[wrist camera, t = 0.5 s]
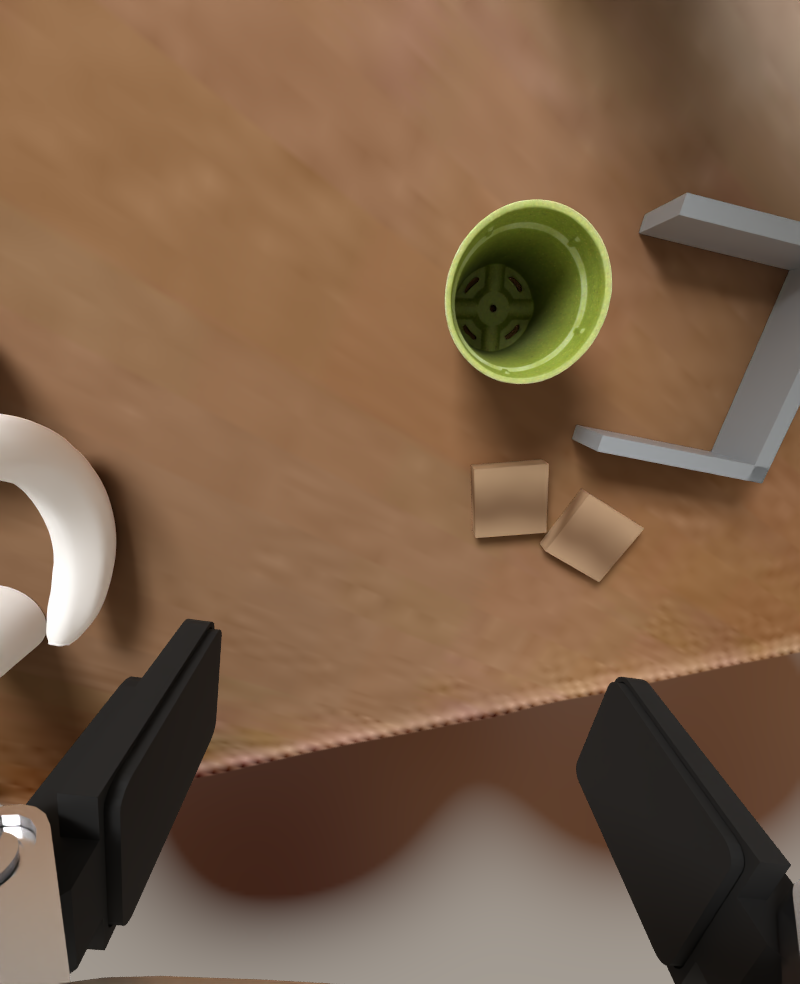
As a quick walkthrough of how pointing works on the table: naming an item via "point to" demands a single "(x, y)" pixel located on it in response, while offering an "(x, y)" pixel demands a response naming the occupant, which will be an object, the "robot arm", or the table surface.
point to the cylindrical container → (18, 627)
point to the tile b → (590, 535)
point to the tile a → (509, 498)
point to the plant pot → (528, 291)
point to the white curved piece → (64, 521)
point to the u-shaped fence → (776, 360)
